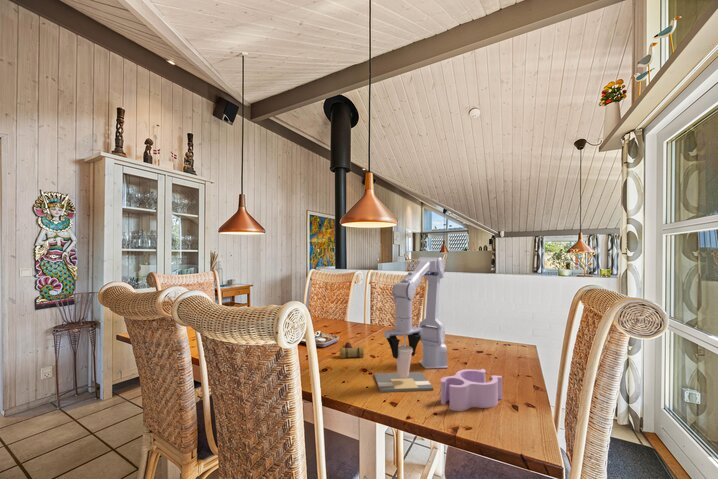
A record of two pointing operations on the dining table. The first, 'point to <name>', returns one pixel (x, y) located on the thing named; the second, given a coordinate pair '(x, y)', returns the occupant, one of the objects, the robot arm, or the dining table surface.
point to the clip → (470, 390)
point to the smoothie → (404, 359)
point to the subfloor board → (402, 382)
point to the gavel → (351, 351)
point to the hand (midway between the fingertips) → (403, 356)
